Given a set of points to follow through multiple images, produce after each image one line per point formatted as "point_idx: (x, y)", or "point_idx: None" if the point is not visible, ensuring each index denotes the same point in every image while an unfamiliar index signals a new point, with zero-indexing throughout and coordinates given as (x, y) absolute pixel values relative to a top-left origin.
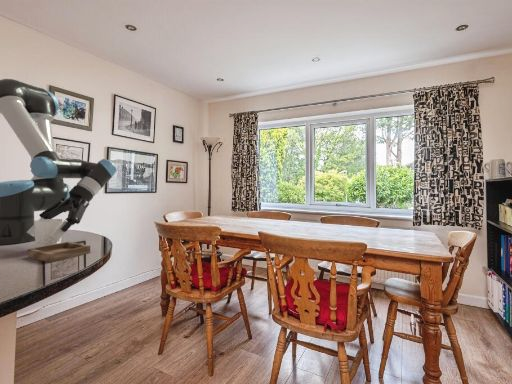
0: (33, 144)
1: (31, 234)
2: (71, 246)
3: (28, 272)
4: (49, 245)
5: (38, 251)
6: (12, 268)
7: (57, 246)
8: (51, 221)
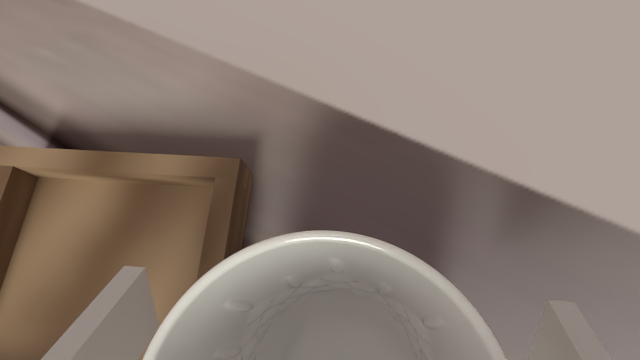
0: None
1: (539, 338)
2: None
3: (17, 49)
4: None
5: (125, 155)
6: (129, 48)
7: None
8: None
